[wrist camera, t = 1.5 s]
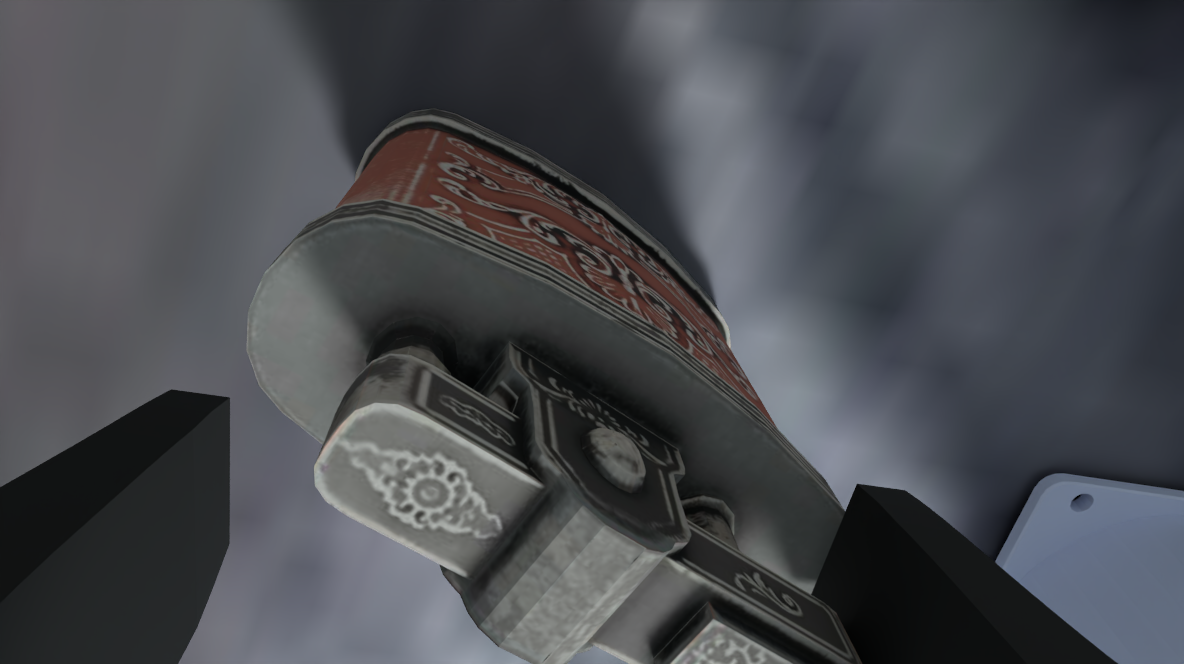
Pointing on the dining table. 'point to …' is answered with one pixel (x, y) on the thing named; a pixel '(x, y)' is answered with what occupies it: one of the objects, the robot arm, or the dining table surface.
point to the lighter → (543, 411)
